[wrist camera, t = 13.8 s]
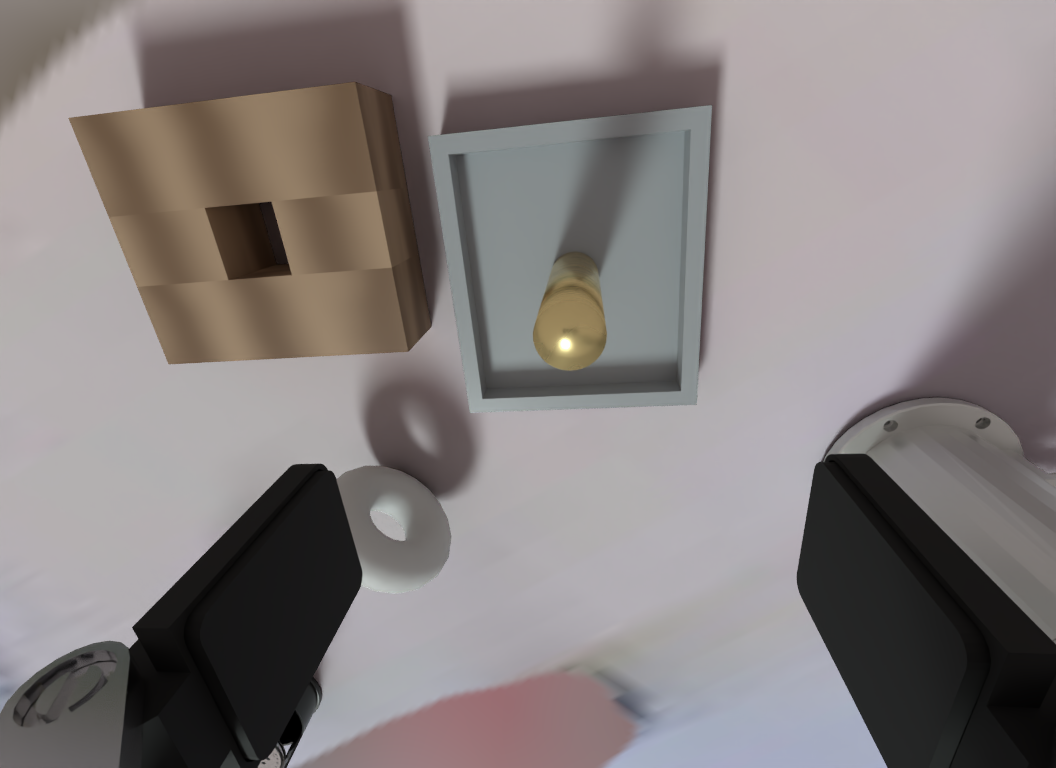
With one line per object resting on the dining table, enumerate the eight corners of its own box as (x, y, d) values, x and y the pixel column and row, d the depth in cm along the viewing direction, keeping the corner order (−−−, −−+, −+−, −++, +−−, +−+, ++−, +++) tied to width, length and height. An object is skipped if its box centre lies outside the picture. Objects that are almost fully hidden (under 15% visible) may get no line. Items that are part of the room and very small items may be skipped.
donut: (472, 504, 40) (440, 604, 31) (449, 529, 41) (411, 632, 32) (368, 434, 38) (302, 518, 29) (347, 462, 40) (277, 551, 30)
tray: (701, 110, 27) (712, 104, 25) (688, 388, 34) (696, 404, 32) (439, 138, 29) (427, 136, 27) (477, 397, 36) (469, 412, 34)
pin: (597, 249, 30) (605, 297, 19) (599, 297, 31) (607, 369, 20) (548, 253, 30) (529, 302, 20) (552, 300, 32) (536, 371, 21)
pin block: (391, 95, 29) (354, 81, 24) (431, 326, 34) (408, 351, 30) (144, 125, 31) (68, 117, 26) (220, 339, 36) (168, 364, 32)
